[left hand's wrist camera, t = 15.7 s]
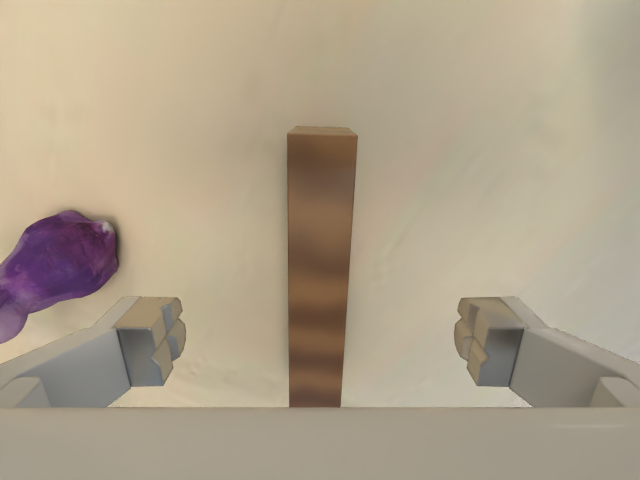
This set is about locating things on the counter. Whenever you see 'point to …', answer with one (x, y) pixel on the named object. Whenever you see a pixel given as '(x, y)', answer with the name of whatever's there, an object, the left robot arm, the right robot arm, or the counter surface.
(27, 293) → the figurine
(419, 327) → the counter surface
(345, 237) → the bar
